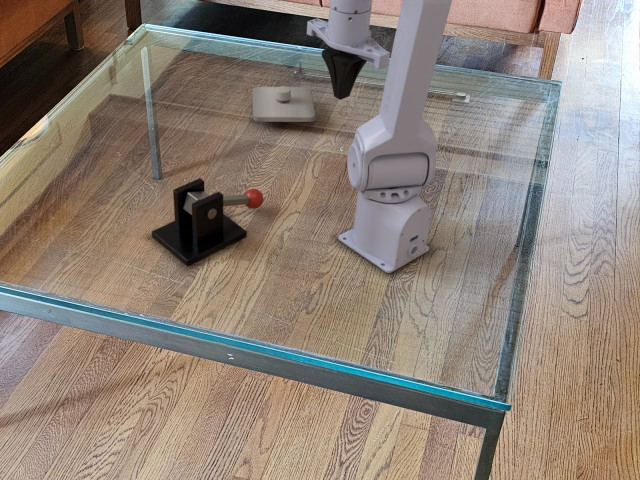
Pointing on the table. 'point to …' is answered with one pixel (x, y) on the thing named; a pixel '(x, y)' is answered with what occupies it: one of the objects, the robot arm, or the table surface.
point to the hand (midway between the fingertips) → (341, 96)
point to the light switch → (283, 104)
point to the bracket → (198, 226)
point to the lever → (228, 199)
